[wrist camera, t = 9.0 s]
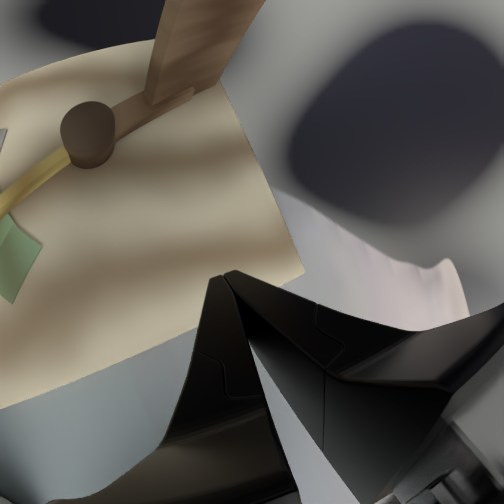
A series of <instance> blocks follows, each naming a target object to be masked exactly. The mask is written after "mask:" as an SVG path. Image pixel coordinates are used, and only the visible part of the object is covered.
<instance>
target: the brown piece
mask: <svg viewBox="0 0 504 504" xmlns="http://www.w3.org/2000/svg"><path fill="white" fill-rule="evenodd" d="M265 1H266V0H166V2H165V5H164V8H163V12H162V15H161V19H160V22H159V26H158V30H157V34H156V38H155V42H154V46H153V50H152V54H151V59H150V63H149V68H148V73H147V78H146V83H145V88H144V91H142V92H140V93H138V94H136V95H134V96H132V97H130V98H128V99H126V100H124V101H122V102H121V103H119V104H117V105H115V106H113V107H111V108H109V107H108V106H107V105H105V104H103V103H101V102H97V101H88V102H83V103H80V104H78V105H76V106H74V107H73V108H71V109H70V110H69V111H68V112H67V113H66V115H65V116H64V118H63V119H62V122H61V125H60V134H61V138H62V141H63V144H64V146H61V147H60V148H59V149H57V150H56V151H54V152H53V153H52V154H50V155H49V156H47V157H46V158H45V159H43V160H42V161H41V162H39V163H38V164H37V165H36V166H34V167H33V168H32V169H30V170H29V171H28V172H27V173H25V174H24V175H23V176H22V177H20V178H19V179H18V180H17V181H16V182H14V183H13V184H12V185H11V186H10V187H9V188H7V189H6V190H5V191H4V192H3V193H2V194H1V195H0V220H1V219H2V218H3V217H4V216H5V215H6V214H8V213H9V212H10V211H11V210H12V209H13V208H14V207H15V206H16V205H18V204H19V203H20V202H21V201H22V200H23V199H25V198H26V197H27V196H28V195H29V194H31V193H32V192H33V191H34V190H35V189H37V188H38V187H39V186H40V185H42V184H43V183H44V182H45V181H47V180H48V179H49V178H51V177H52V176H53V175H54V174H56V173H57V172H58V171H60V170H61V169H62V168H64V167H65V166H67V165H68V164H69V163H72V164H73V165H75V166H76V167H78V168H82V169H92V168H95V167H98V166H100V165H102V164H103V163H105V162H106V161H107V160H108V159H109V158H110V156H111V155H112V153H113V150H114V147H115V142H117V141H118V140H120V139H121V138H123V137H125V136H126V135H128V134H130V133H131V132H133V131H135V130H136V129H138V128H140V127H142V126H143V125H145V124H147V123H148V122H150V121H152V120H154V119H156V118H157V117H159V116H161V115H163V114H165V113H167V112H169V111H171V110H172V109H174V108H176V107H178V106H180V105H182V104H184V103H186V102H188V101H190V100H191V98H192V96H193V95H195V94H197V93H199V92H202V91H204V90H206V89H208V88H210V87H213V86H215V85H216V84H217V82H218V80H219V78H220V76H221V75H222V73H223V71H224V69H225V67H226V65H227V64H228V61H229V60H230V58H231V56H232V54H233V53H234V51H235V49H236V48H237V46H238V44H239V43H240V41H241V39H242V37H243V36H244V34H245V32H246V31H247V29H248V27H249V26H250V24H251V23H252V21H253V19H254V18H255V16H256V15H257V13H258V11H259V10H260V8H261V7H262V5H263V4H264V2H265Z"/></svg>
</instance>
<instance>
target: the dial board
mask: <svg viewBox="0 0 504 504" xmlns="http://www.w3.org/2000/svg"><path fill="white" fill-rule="evenodd" d="M154 42H155V39H153V40H147V41H140V42H135V43H129V44H124V45H119V46H114V47H109V48H105V49H101V50H97V51H93V52H89V53H85V54H81V55H78V56H74V57H71V58H68V59H64V60H61V61H58V62H55V63H52V64H49V65H46V66H43V67H40V68H38V69H35V70H32V71H30V72H27V73H25V74H22V75H20V76H17V77H15V78H13V79H10V80H8V81H6V82H3V83H1V84H0V195H1V194H2V193H3V192H4V191H5V190H6V189H7V188H9V187H10V186H11V185H12V184H13V183H14V182H16V181H17V180H18V179H19V178H20V177H22V176H23V175H24V174H25V173H27V172H28V171H29V170H30V169H32V168H33V167H34V166H36V165H37V164H38V163H39V162H41V161H42V160H43V159H45V158H46V157H47V156H49V155H50V154H52V153H53V152H54V151H56V150H57V149H59V148H60V147H61V146H64V144H63V141H62V138H61V134H60V125H61V122H62V119H63V118H64V116H65V115H66V113H67V112H68V111H69V110H70V109H71V108H73V107H74V106H76V105H78V104H80V103H83V102H88V101H97V102H101V103H103V104H105V105H107V106H108V107H109V108H111V107H113V106H115V105H117V104H119V103H121V102H122V101H124V100H126V99H128V98H130V97H132V96H134V95H136V94H138V93H140V92H142V91H144V88H145V83H146V78H147V73H148V68H149V63H150V59H151V54H152V50H153V46H154ZM232 270H239V271H241V272H243V273H246V274H248V275H250V276H253V277H255V278H257V279H260V280H262V281H265V282H267V283H269V284H272V285H274V286H277V287H279V286H281V285H283V284H285V283H287V282H289V281H291V280H293V279H295V278H297V277H299V276H300V275H302V274H304V273H305V270H304V268H303V265H302V263H301V260H300V258H299V255H298V253H297V251H296V248H295V246H294V243H293V241H292V239H291V236H290V234H289V231H288V229H287V227H286V224H285V222H284V220H283V217H282V215H281V213H280V210H279V208H278V206H277V203H276V201H275V199H274V196H273V194H272V192H271V190H270V187H269V185H268V183H267V180H266V178H265V176H264V174H263V172H262V170H261V167H260V165H259V163H258V160H257V158H256V156H255V154H254V152H253V149H252V147H251V145H250V143H249V141H248V138H247V136H246V134H245V132H244V130H243V128H242V126H241V123H240V121H239V119H238V117H237V115H236V113H235V111H234V109H233V107H232V104H231V102H230V101H229V99H228V96H227V94H226V92H225V90H224V88H223V86H222V84H221V82H220V80H218V82H217V84H216V85H215V86H213V87H210V88H208V89H206V90H204V91H202V92H199V93H197V94H195V95H193V96H192V98H191V100H190V101H188V102H186V103H184V104H182V105H180V106H178V107H176V108H174V109H172V110H171V111H169V112H167V113H165V114H163V115H161V116H159V117H157V118H156V119H154V120H152V121H150V122H148V123H147V124H145V125H143V126H142V127H140V128H138V129H136V130H135V131H133V132H131V133H130V134H128V135H126V136H125V137H123V138H121V139H120V140H118V141H117V142H115V147H114V150H113V153H112V155H111V156H110V158H109V159H108V160H107V161H106V162H105V163H103V164H102V165H100V166H98V167H95V168H92V169H82V168H78V167H76V166H75V165H73V164H72V163H69V164H68V165H67V166H65V167H64V168H62V169H61V170H60V171H58V172H57V173H56V174H54V175H53V176H52V177H51V178H49V179H48V180H47V181H45V182H44V183H43V184H42V185H40V186H39V187H38V188H37V189H35V190H34V191H33V192H32V193H31V194H29V195H28V196H27V197H26V198H25V199H23V200H22V201H21V202H20V203H19V204H18V205H16V206H15V207H14V208H13V209H12V210H11V211H10V212H9V213H8V214H6V215H5V216H4V217H3V218H2V219H1V220H0V409H3V408H6V407H9V406H11V405H14V404H17V403H19V402H22V401H25V400H27V399H30V398H33V397H35V396H38V395H41V394H43V393H46V392H48V391H51V390H53V389H56V388H58V387H61V386H63V385H66V384H68V383H71V382H73V381H76V380H78V379H81V378H83V377H85V376H88V375H90V374H93V373H95V372H97V371H100V370H102V369H105V368H107V367H109V366H112V365H114V364H116V363H119V362H121V361H123V360H125V359H128V358H130V357H132V356H135V355H137V354H139V353H141V352H144V351H146V350H148V349H150V348H152V347H155V346H157V345H159V344H161V343H163V342H166V341H168V340H170V339H172V338H174V337H177V336H179V335H181V334H183V333H185V332H187V331H189V330H192V329H194V328H196V327H198V325H199V321H200V316H201V312H202V307H203V303H204V299H205V294H206V290H207V286H208V282H209V279H210V278H212V277H215V276H217V275H223V274H224V273H226V272H229V271H232Z"/></svg>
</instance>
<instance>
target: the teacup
mask: <svg viewBox="0 0 504 504" xmlns="http://www.w3.org/2000/svg"><path fill="white" fill-rule="evenodd" d="M0 504H12V503H11V502H10V501H8V500H6V499H5V498H3V497H1V496H0Z"/></svg>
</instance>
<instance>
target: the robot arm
mask: <svg viewBox="0 0 504 504" xmlns="http://www.w3.org/2000/svg"><path fill="white" fill-rule="evenodd" d="M249 343H250V345H251V347H252V348H253V350H254V351H255V353H256V355H257V356H258V358H259V359H260V361H261V362H262V364H263V366H264V367H265V369H266V370H267V372H268V373H269V375H270V376H271V378H272V379H273V381H274V383H275V384H276V386H277V387H278V389H279V390H280V392H281V393H282V395H283V396H284V398H285V399H286V401H287V402H288V404H289V405H290V407H291V408H292V410H293V411H294V412H295V414H296V415H297V417H298V418H299V420H300V421H301V423H302V424H303V426H304V427H305V429H306V430H307V431H308V433H309V434H310V436H311V437H312V439H313V440H314V441H315V443H316V444H317V446H318V447H319V448H320V450H321V451H322V452H323V454H324V456H325V457H326V458H327V460H328V461H329V463H330V464H331V465H332V467H333V468H334V469H335V471H336V472H337V473H338V475H339V476H340V477H341V479H342V480H343V482H344V483H345V484H346V486H347V487H348V488H349V489H350V491H351V492H352V493H353V495H354V496H355V497H356V499H357V500H358V501H359V503H360V504H374V503H376V502H377V501H379V500H381V499H382V498H384V497H386V496H387V495H389V494H390V493H392V492H393V493H394V494H395V496H396V497H397V498H398V500H399V501H400V503H401V504H504V303H502V304H500V305H498V306H497V307H494V308H492V309H490V310H487V311H484V312H482V313H479V314H476V315H474V316H470V317H467V318H464V319H461V320H458V321H455V322H452V323H449V324H446V325H443V326H440V327H436V328H433V329H429V330H425V331H406V330H402V329H398V328H394V327H390V326H386V325H383V324H379V323H375V322H372V321H368V320H364V319H361V318H357V317H354V316H351V315H348V314H344V313H342V312H339V311H336V310H333V309H331V308H328V307H326V306H323V305H321V304H317V303H315V302H313V301H311V300H308V299H306V298H303V297H301V296H298V295H296V294H294V293H291V292H289V291H286V290H284V289H281V288H279V287H277V286H274V285H272V284H269V283H267V282H265V281H262V280H260V279H257V278H255V277H253V276H250V275H248V274H246V273H243V272H241V271H239V270H232V271H229V272H226V273H224V274H223V275H217V276H215V277H212V278H210V279H209V282H208V286H207V290H206V294H205V299H204V303H203V307H202V312H201V316H200V321H199V325H198V330H197V334H196V339H195V343H194V348H193V352H192V356H191V361H190V365H189V369H188V373H187V377H186V380H185V383H184V386H183V388H182V391H181V394H180V397H179V399H178V402H177V405H176V407H175V410H174V413H173V415H172V418H171V421H170V423H169V426H168V429H167V431H166V434H165V436H164V438H163V440H162V441H161V443H160V444H159V446H158V447H157V448H156V449H155V450H154V451H153V452H152V453H151V454H150V455H148V456H147V457H146V458H145V459H143V460H142V461H141V462H139V463H138V464H137V465H135V466H134V467H133V468H132V469H130V470H129V471H128V472H126V473H125V474H124V475H122V476H121V477H120V478H118V479H117V480H115V481H114V482H113V483H111V484H110V485H109V486H107V487H106V488H104V489H102V490H101V491H99V492H97V493H94V494H92V495H90V496H86V497H83V498H77V499H57V500H51V501H49V502H47V503H46V504H302V503H301V498H300V494H299V490H298V487H297V484H296V482H295V479H294V477H293V474H292V472H291V469H290V466H289V464H288V461H287V458H286V456H285V453H284V450H283V447H282V445H281V442H280V439H279V436H278V433H277V431H276V428H275V425H274V422H273V419H272V416H271V413H270V410H269V407H268V404H267V401H266V397H265V394H264V391H263V388H262V384H261V381H260V378H259V375H258V371H257V368H256V365H255V361H254V358H253V355H252V351H251V348H250V345H249Z"/></svg>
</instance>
